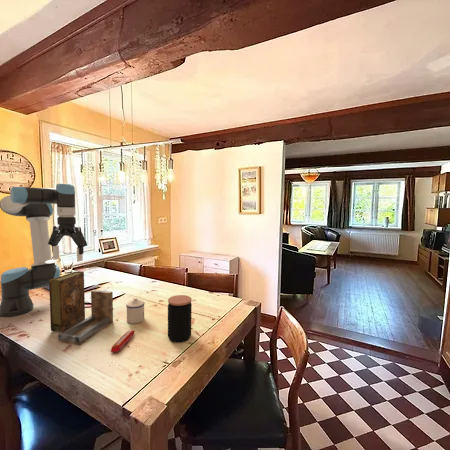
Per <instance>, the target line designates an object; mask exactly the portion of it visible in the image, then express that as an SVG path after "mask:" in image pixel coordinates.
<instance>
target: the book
mask: <svg viewBox="0 0 450 450" xmlns="http://www.w3.org/2000/svg"><path fill="white" fill-rule="evenodd" d="M65 274H66V275H63V276H60V277H57V278H54V279H51V280H50V281H49V287H48V288H49V312H50V317H49V318H50V332H60V333H62V332H64V331H66V330H67V329H69V328H71V327H73V326H74V325H76V324H78V323H79V322H81V321H83V320H85V319H86V313H85V312H86V307H85V304H86V303H85V271H73V272H71V273H65Z"/></svg>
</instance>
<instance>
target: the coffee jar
mask: <svg viewBox="0 0 450 450" xmlns="http://www.w3.org/2000/svg"><path fill="white" fill-rule="evenodd" d="M167 303H168V305H167V337H168V340H170V341H171V342H173V343H177V344H178V343H184V342H187V341H189V339H190V337H192V305H193V304H192V297H191V296H189V295H184V294H177V295H171V296H170V297H169V298H168V300H167Z"/></svg>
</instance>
